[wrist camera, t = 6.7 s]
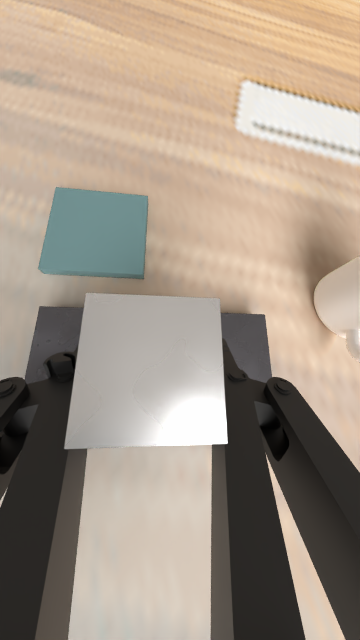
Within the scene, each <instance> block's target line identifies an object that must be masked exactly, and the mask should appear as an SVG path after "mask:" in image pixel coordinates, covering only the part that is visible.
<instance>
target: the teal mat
mask: <svg viewBox="0 0 360 640" xmlns="http://www.w3.org/2000/svg"><path fill="white" fill-rule="evenodd" d="M147 215H148V196H142V195H132V194H122V193H111V192H101V191H90V190H80V189H69V188H59V187H56V189H55V194H54V198H53V203H52V207H51V212H50V217H49V221H48V226H47V230H46V235H45V239H44V244H43V249H42V253H41V258H40V262H39V267H38V269H39V270H40V271H42V272H43V273H44V274H60V275H79V276H98V277H117V278H136V279H144V265H145V248H146V231H147Z"/></svg>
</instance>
